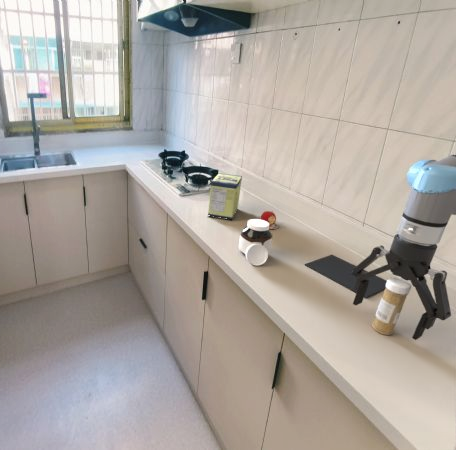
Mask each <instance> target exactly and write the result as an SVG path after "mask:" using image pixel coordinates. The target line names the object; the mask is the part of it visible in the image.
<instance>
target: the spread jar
mask: <svg viewBox="0 0 456 450" xmlns="http://www.w3.org/2000/svg"><path fill="white" fill-rule="evenodd" d="M272 243H273V234H272V232H271V229H269V223H268V222H267V221H264V220H261V218H251V219H248V220H247V224H246V227H244V228H243V229H242V231H241V232H240V235H239V240H238V250H239V251H240V253H241V254H242V255H243V256H244V257H245V259H246V261H247V262H248V263H250V264H251V265H252V266H257V267H258V266H262V265H264V264H265V263H266V262H267V261H268V258H269V253H270V251H271V248H272Z"/></svg>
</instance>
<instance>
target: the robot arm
mask: <svg viewBox="0 0 456 450" xmlns="http://www.w3.org/2000/svg"><path fill="white" fill-rule="evenodd" d="M406 180H407V183H408V185H409V186H410V187H411V189H410V191H409V194H408V196H407V197H408V198H407V201H406V204H405V206H404V210H403V212H402V215H401V217H400V221H399V223H398V226H397V229H396V234H395V235H394V236H393V240H392V243H391V245H390V249H389V250H387V249H386V248H385V246H384V245H381V244H380V245H378V246H376V247H373V249H372V250H371V253H370V254H369V255H368V256H367V257H366V258H365V259H363V260H362V261H361V262H360V263H359V264H357V265H355V266H356V267H355V268H354V269H353V270H351V272H350V273H351V274H352V275H354V276H355V277H356V278H357V281H356V284H355V287H354V290H355V291H357V293H355V296H354V298H353V299H354V300H353V302H352V305H354V306H358V305H361V304H362V303H363V301H364V299H365V298H364V295H365V292H366V290H367V287H368V284H369V280H367V278H369V277H372V276H374V275H376V276H378V275H380V274H382V273H385V272H387V271H390V272H391V273H392V275H394V276H395V277H399V278H400V279H403V280H405V281H407V282H408V281H410V284H411V286H413V287H414V289H415V291H416V293H417V295H418V297H419V299H420V301H421V304H422V306H423V308H424V310H425V312H423V313H422V314H421V316H420V319H419V321H418V322H417V326H416V328H415V330H414V333H413V335H412V337H411V339H413V340H414V341H417V340H418V339H420V338H422V337H423V335H424V332H425V330H429V329H431V328H432V327H434V325H435V323H436V321H437V319H439V320H441V321H446V320H447V319H449V318H450V317H452V311H451V306H450V301H449V295H448V291H447V284H446V280H447V277H448V272H447V271H446V270H436V269H433V268H431V263H432V261H433V258H434V256H435V254H436V251H437V249H438V244H439V243H441V240H442V238H443V236H444V232H445V230H446V227H447V226H448V224H449V221H450V219H451V217H452V216H456V152H455V153H453V154H450V155H448V156H446V157H444V158H441V159H439V160H436V159H421V160H419V161H417V162H415V163H413V164H412V166H410V168H409V169H408V171H407V174H406ZM383 257H385V260H386V263H387V264H385V265H382V266H380V267H377V268H374V269H372V270H370V271H368V272H367V273H364V274H363V273H362V272H361V271H363V270H366V268H368V267H369V266H370V265H371V264H373V263H374V262H375V261H377V259H379V258H383ZM426 275H429V277H430V280H431V281H432V288H433V293H434V296H433V294H432V292H431V290H430V287H429V286H428V284H427V282H428V281H427V278H426ZM365 279H366V280H365Z"/></svg>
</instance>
